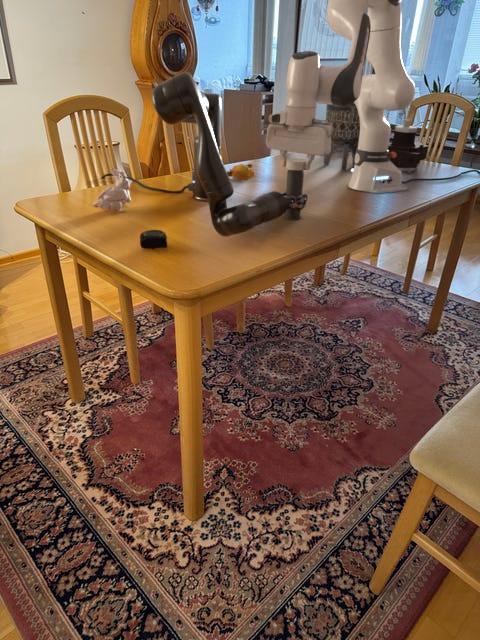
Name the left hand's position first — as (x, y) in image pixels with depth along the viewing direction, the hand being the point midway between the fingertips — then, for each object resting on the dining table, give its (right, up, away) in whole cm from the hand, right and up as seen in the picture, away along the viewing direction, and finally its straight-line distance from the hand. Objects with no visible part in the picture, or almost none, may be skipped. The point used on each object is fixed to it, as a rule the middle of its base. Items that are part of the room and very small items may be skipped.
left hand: (297, 195), depth 142 cm
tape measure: (-40, -20, -24) cm, 51 cm away
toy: (-17, +19, +45) cm, 52 cm away
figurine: (-58, -4, +4) cm, 59 cm away
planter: (+29, +32, +69) cm, 82 cm away
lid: (-1, +8, -7) cm, 11 cm away
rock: (+38, +52, +104) cm, 122 cm away
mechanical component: (+58, +31, +69) cm, 95 cm away
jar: (-2, -7, +1) cm, 7 cm away
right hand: (-1, +7, -6) cm, 9 cm away
